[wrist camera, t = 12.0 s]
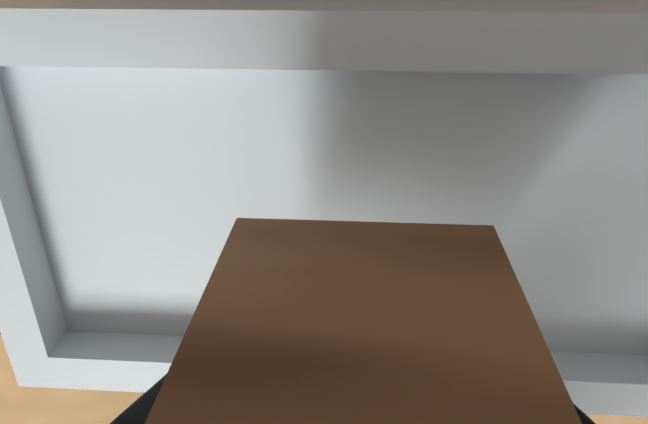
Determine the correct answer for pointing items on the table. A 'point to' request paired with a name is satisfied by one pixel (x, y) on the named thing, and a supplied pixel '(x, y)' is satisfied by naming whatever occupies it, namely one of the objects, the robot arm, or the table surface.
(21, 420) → the table surface
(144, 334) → the white rimmed tray
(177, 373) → the brown wooden block
